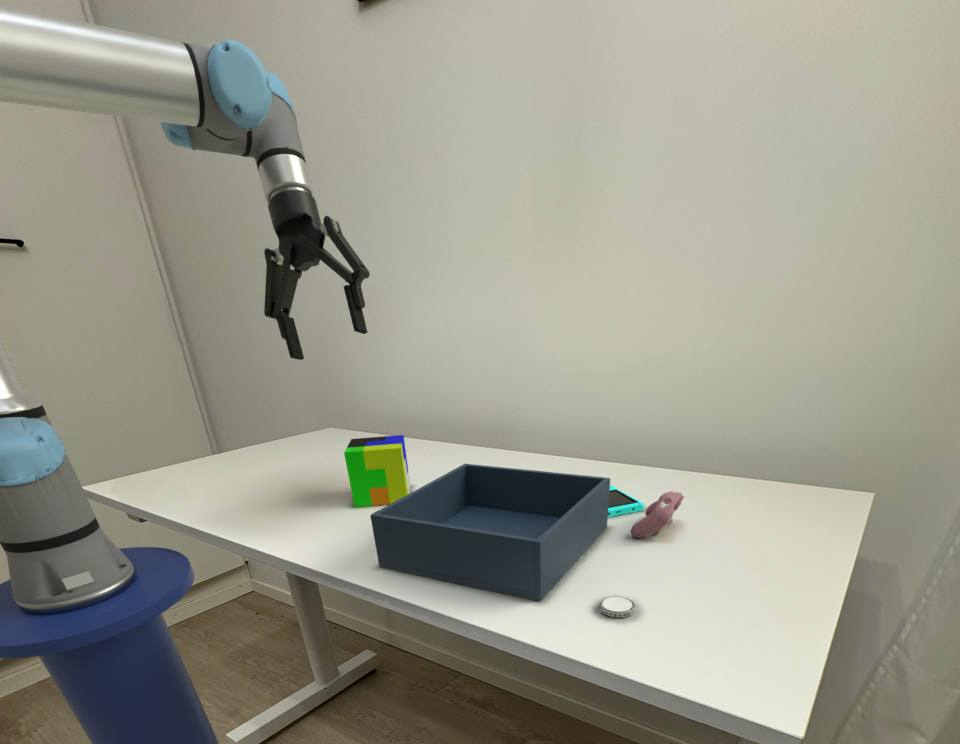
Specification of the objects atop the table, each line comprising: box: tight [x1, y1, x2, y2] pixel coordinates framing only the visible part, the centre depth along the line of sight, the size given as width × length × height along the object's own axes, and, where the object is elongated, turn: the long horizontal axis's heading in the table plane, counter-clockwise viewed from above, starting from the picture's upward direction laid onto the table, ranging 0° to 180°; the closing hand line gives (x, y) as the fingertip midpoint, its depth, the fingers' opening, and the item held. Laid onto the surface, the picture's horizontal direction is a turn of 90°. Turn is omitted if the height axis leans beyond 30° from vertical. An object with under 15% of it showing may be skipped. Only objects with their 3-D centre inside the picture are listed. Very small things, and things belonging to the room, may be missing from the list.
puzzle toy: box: [343, 434, 411, 508], centre depth 105 cm, size 10×10×10 cm
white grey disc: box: [599, 595, 635, 618], centre depth 66 cm, size 4×4×1 cm
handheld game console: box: [608, 484, 645, 518], centre depth 98 cm, size 10×16×1 cm, turn 19°
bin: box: [370, 463, 611, 602], centre depth 82 cm, size 26×26×8 cm
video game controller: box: [630, 489, 685, 539], centre depth 84 cm, size 10×5×7 cm, turn 151°
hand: (328, 345), depth 92 cm, fingers open, 13 cm apart
